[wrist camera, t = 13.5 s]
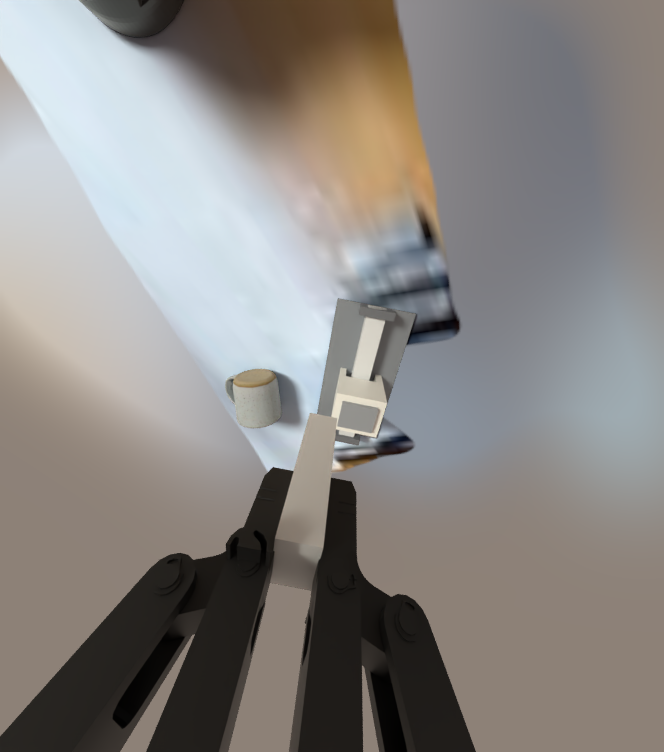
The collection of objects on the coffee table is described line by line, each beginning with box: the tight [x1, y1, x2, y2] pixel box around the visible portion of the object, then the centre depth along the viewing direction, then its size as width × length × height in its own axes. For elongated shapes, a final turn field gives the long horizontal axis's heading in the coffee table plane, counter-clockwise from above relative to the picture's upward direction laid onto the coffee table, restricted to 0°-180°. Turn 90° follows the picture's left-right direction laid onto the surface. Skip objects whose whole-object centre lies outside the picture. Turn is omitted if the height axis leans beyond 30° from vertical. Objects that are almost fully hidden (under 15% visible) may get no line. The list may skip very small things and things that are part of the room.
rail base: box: [317, 298, 416, 445], centre depth 41 cm, size 24×12×4 cm, turn 170°
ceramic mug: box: [225, 369, 282, 428], centre depth 42 cm, size 11×8×8 cm
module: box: [331, 368, 387, 437], centre depth 39 cm, size 6×7×10 cm
